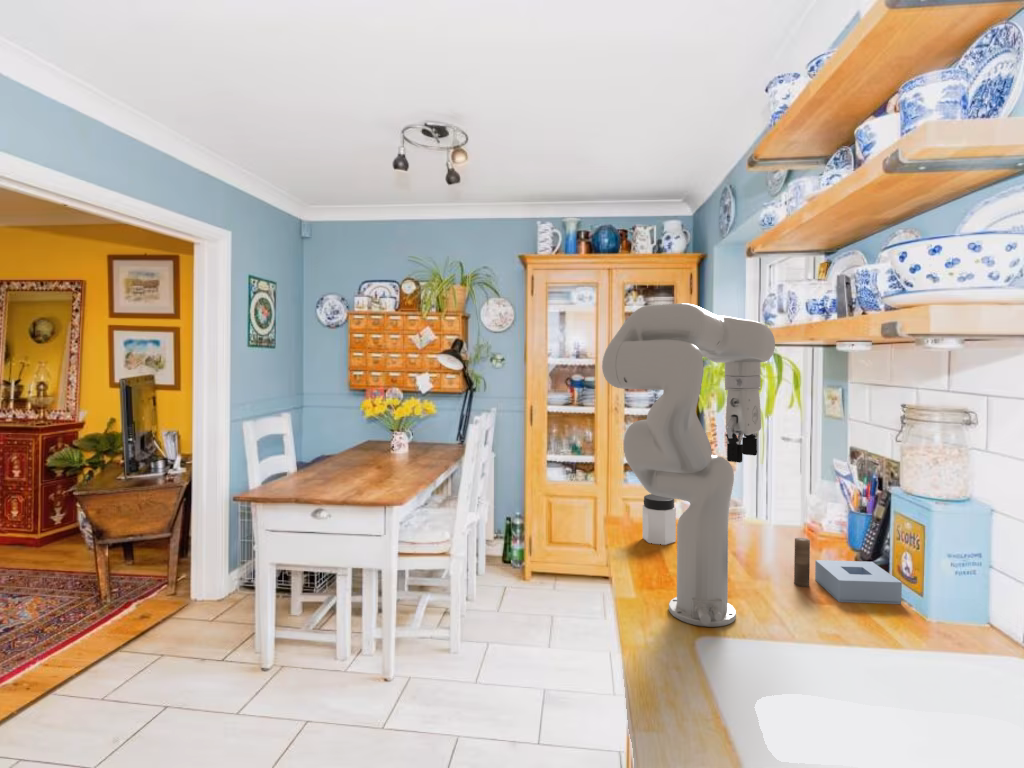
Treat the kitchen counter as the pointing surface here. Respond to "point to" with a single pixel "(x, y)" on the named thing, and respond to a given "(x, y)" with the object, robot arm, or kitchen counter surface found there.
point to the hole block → (858, 582)
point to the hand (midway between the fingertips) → (742, 458)
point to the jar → (659, 520)
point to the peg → (802, 562)
